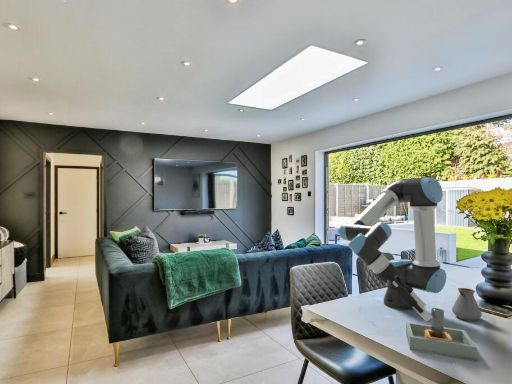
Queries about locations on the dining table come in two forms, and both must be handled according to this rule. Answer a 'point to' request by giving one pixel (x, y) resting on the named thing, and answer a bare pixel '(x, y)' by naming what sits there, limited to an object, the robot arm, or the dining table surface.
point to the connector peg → (437, 323)
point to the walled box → (441, 342)
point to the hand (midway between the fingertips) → (426, 312)
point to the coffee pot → (466, 305)
